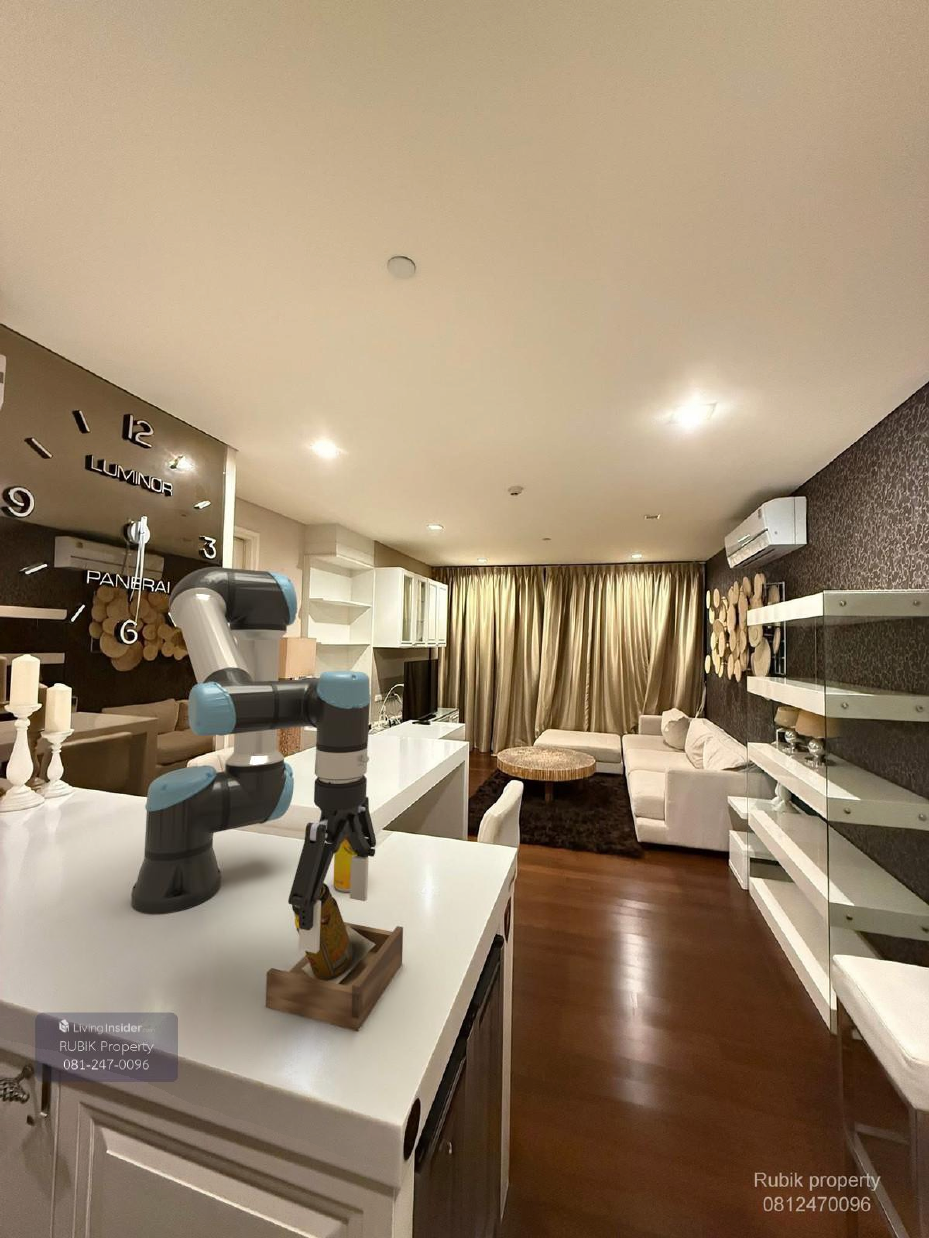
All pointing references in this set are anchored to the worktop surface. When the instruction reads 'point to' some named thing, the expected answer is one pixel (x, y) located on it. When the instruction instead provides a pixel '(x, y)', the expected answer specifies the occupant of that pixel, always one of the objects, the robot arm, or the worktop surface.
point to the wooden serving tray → (351, 994)
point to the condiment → (333, 943)
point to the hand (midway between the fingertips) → (335, 922)
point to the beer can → (343, 867)
